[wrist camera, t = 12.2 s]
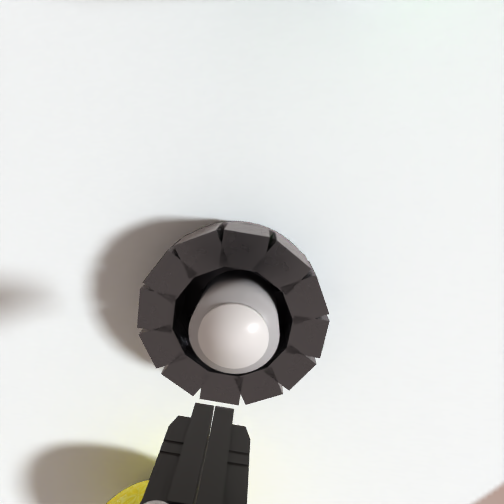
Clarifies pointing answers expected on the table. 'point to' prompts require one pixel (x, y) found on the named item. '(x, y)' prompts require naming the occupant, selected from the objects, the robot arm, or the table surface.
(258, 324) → the cap
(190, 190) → the table surface
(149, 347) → the segmented grey ring
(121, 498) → the bowl
